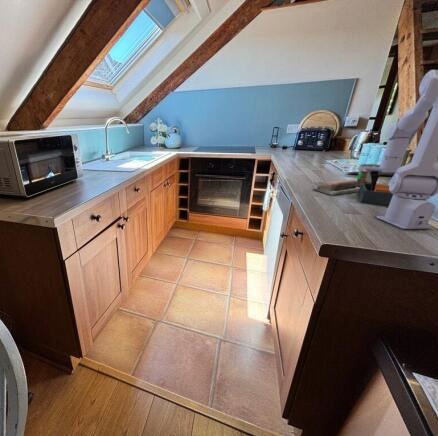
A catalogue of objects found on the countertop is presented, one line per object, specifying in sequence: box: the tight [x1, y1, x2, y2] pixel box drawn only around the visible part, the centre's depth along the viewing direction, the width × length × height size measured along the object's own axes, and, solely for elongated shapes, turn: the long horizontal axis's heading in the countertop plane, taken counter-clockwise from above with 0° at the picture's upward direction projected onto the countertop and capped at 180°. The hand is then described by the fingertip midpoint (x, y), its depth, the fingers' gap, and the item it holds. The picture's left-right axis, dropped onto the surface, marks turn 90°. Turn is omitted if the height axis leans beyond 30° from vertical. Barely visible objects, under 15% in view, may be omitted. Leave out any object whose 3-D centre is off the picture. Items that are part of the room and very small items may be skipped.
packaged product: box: [312, 178, 360, 196], centre depth 111 cm, size 18×5×10 cm
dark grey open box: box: [357, 183, 393, 207], centre depth 98 cm, size 15×12×5 cm
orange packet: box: [370, 182, 391, 193], centre depth 98 cm, size 11×4×4 cm, turn 145°
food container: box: [356, 163, 381, 188], centre depth 117 cm, size 12×6×10 cm, turn 113°
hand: (380, 191), depth 98 cm, fingers closed on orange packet, 4 cm apart
